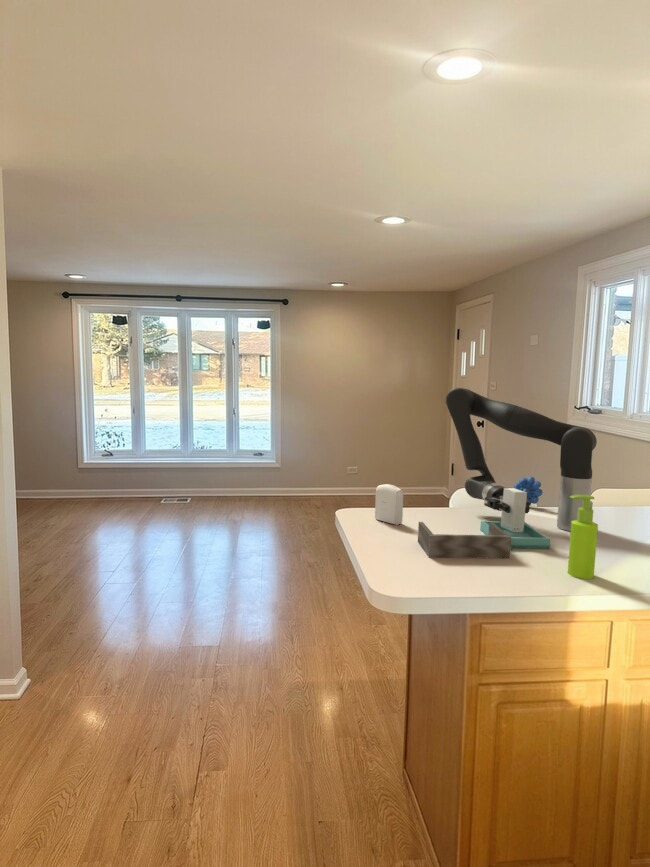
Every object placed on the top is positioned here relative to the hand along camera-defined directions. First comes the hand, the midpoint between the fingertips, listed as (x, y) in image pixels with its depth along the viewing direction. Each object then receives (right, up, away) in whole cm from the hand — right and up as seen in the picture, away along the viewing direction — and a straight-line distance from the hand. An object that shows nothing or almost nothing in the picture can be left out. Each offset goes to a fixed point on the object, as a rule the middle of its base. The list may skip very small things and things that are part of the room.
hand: (518, 509), depth 158 cm
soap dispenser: (+6, -13, -25) cm, 29 cm away
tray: (0, -9, +3) cm, 10 cm away
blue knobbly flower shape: (+21, -6, +47) cm, 52 cm away
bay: (-19, -10, -8) cm, 23 cm away
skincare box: (-1, -7, +3) cm, 7 cm away
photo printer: (-36, -7, +20) cm, 42 cm away
